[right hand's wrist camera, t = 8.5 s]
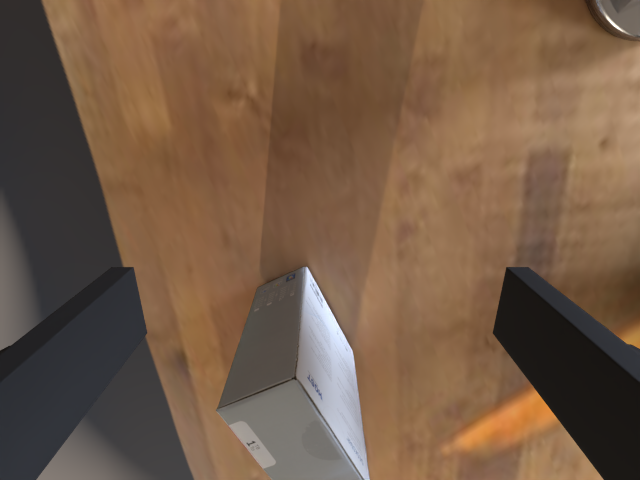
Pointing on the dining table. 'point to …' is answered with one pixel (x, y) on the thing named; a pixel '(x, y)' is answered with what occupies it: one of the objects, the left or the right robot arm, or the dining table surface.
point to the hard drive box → (296, 387)
